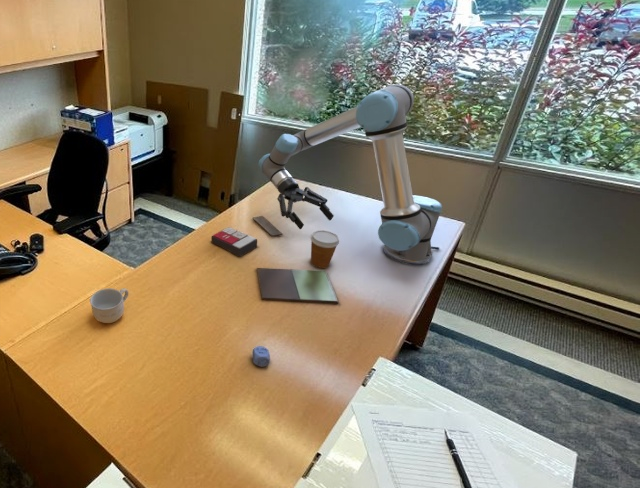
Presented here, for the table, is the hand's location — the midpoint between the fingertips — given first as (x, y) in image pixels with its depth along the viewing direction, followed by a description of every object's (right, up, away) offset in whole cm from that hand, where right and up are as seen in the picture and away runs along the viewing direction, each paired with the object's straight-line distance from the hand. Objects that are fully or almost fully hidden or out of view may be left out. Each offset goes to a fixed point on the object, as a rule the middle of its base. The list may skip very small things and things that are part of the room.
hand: (317, 222), depth 156 cm
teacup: (-77, -31, -17) cm, 84 cm away
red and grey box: (-28, -9, +15) cm, 33 cm away
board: (-13, -22, -11) cm, 28 cm away
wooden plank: (-11, -2, +25) cm, 27 cm away
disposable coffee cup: (+1, -16, 0) cm, 16 cm away
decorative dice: (-34, -40, -38) cm, 65 cm away
